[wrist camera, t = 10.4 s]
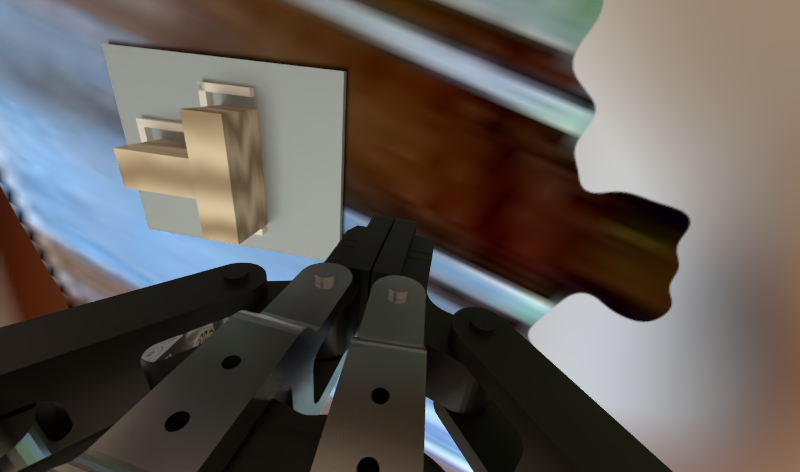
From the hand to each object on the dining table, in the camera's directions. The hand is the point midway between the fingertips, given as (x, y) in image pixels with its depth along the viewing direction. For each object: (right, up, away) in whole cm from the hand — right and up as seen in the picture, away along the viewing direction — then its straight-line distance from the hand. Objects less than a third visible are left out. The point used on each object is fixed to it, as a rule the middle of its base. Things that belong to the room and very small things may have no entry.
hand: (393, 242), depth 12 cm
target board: (-23, +11, +35) cm, 43 cm away
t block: (-26, +10, +34) cm, 44 cm away
